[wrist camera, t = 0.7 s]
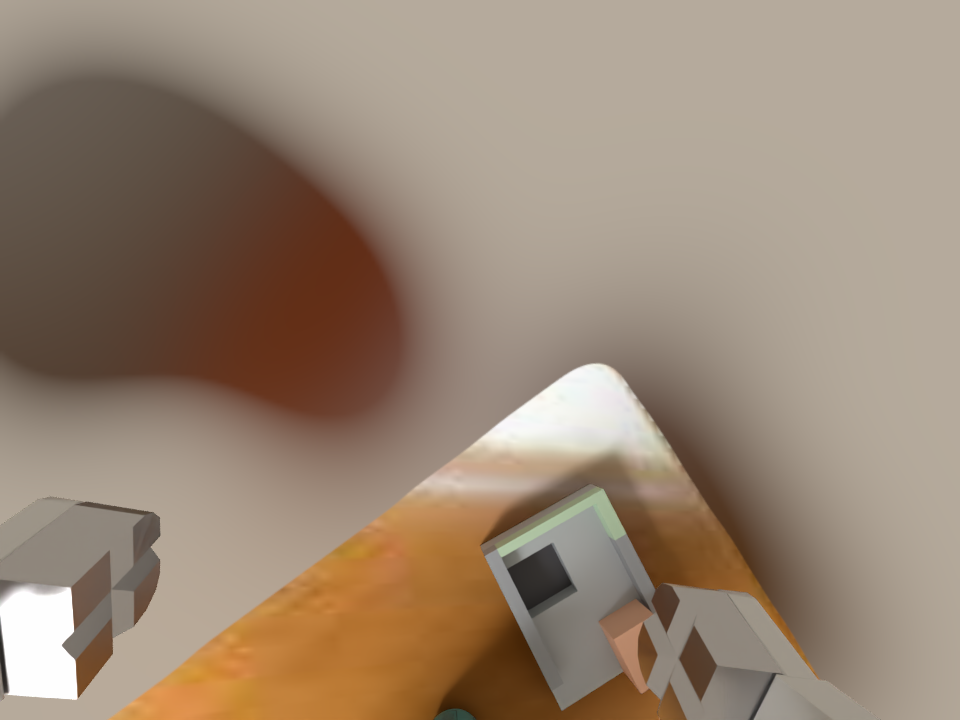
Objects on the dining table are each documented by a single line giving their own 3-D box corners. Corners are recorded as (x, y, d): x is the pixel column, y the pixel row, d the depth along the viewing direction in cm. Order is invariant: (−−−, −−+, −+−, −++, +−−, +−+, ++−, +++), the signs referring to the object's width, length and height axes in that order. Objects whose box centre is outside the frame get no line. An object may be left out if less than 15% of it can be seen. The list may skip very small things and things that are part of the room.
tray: (665, 629, 57) (684, 646, 52) (555, 698, 55) (566, 722, 50) (590, 483, 58) (603, 488, 54) (480, 545, 56) (484, 556, 51)
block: (660, 647, 54) (681, 667, 50) (623, 671, 53) (641, 694, 49) (635, 598, 55) (653, 614, 50) (598, 621, 54) (613, 639, 49)
